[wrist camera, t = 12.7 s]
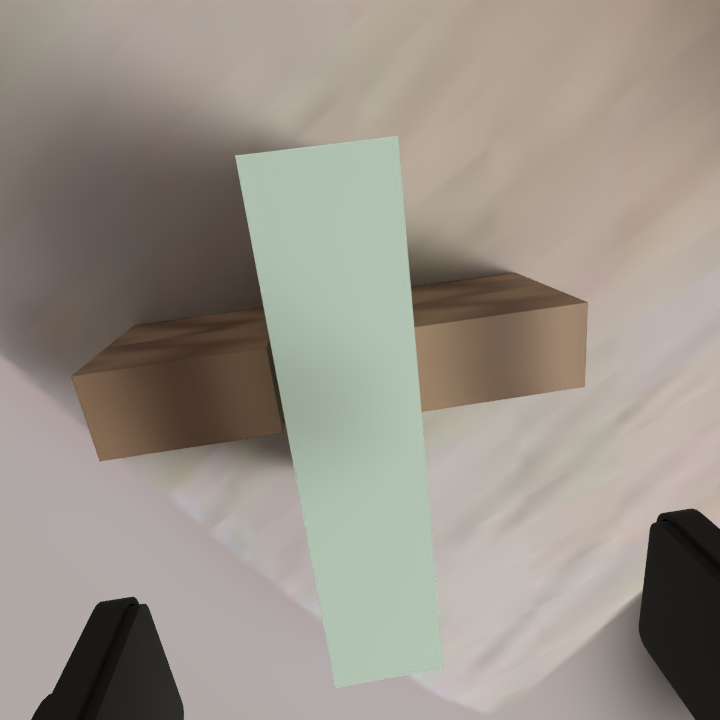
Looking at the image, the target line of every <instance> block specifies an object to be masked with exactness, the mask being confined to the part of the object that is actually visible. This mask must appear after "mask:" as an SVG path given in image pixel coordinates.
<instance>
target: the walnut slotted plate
mask: <svg viewBox="0 0 720 720" xmlns="http://www.w3.org/2000/svg"><path fill="white" fill-rule="evenodd" d="M411 295H412V307H413V318H414V330H415V341H416V353H417V365H418V376H419V388H420V400H421V411H422V412H423V411H430V410H437V409H443V408H450V407H456V406H463V405H469V404H476V403H482V402H489V401H495V400H502V399H508V398H515V397H521V396H528V395H534V394H541V393H547V392H554V391H560V390H567V389H573V388H580V387H585V365H586V338H587V311H588V302H585V301H583V300H581V299H578V298H576V297H573V296H571V295H568V294H566V293H564V292H561V291H559V290H556V289H554V288H551V287H549V286H546V285H544V284H542V283H539V282H537V281H534V280H532V279H529V278H527V277H525V276H522V275H520V274H517V273H510V274H503V275H495V276H488V277H481V278H474V279H466V280H459V281H452V282H445V283H438V284H430V285H423V286H416V287H411ZM71 377H72V380H73V383H74V386H75V389H76V392H77V395H78V398H79V401H80V404H81V407H82V410H83V413H84V416H85V419H86V422H87V425H88V428H89V431H90V434H91V437H92V440H93V443H94V446H95V448H96V451H97V455H98V458H99V461H103V460H111V459H117V458H124V457H130V456H137V455H143V454H150V453H156V452H163V451H169V450H176V449H182V448H189V447H195V446H202V445H208V444H215V443H221V442H228V441H235V440H241V439H248V438H254V437H261V436H267V435H274V434H280V433H283V422H284V412H283V407H282V402H281V397H280V391H279V386H278V381H277V375H276V370H275V365H274V359H273V354H272V349H271V344H270V338H269V333H268V328H267V322H266V317H265V312H264V308H257V309H250V310H243V311H235V312H228V313H221V314H214V315H207V316H199V317H192V318H185V319H178V320H170V321H163V322H156V323H149V324H142V325H134V326H133V327H131V328H130V329H129V330H128V331H127V332H125V333H124V334H123V335H122V336H120V337H119V338H118V339H117V340H116V341H114V342H113V343H112V344H111V345H109V346H108V347H107V348H106V349H104V350H103V351H102V352H101V353H100V354H98V355H97V356H96V357H95V358H93V359H92V360H91V361H90V362H88V363H87V364H86V365H85V366H84V367H82V368H81V369H80V370H79V371H77V372H76V373H75V374H74V375H72V376H71Z"/></svg>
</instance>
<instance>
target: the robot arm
mask: <svg viewBox="0 0 720 720" xmlns="http://www.w3.org/2000/svg"><path fill="white" fill-rule="evenodd" d="M639 633H640V637H641V640H642V642H643V644H644V646H645V648H646V649H647V651H648V653H649V654H650V655H651V657H652V658H653V660H654V661H655V662H656V664H657V665H658V667H659V668H660V670H661V671H662V673H663V674H664V676H665V677H666V678H667V680H668V681H669V682H670V684H671V685H672V687H673V688H674V690H675V691H676V693H677V694H678V696H679V697H680V698H681V700H682V701H683V703H684V704H685V706H686V707H687V708H688V710H689V711H690V712H691V714H692V715H693V717H694V718H695V720H720V529H719V528H718V527H717V526H716V525H714V524H713V523H712V522H711V521H710V520H709V519H708V518H706V517H705V516H704V515H703V514H702V513H700V512H699V511H697V510H695V509H686V510H680V511H673V512H667V513H662V514H660V515H659V516H658V518H657V522H656V523H653V524H652V525H651V528H650V534H649V543H648V551H647V560H646V568H645V577H644V585H643V594H642V603H641V611H640V620H639ZM31 720H184V710H183V704H182V700H181V697H180V695H179V692H178V689H177V686H176V684H175V681H174V678H173V675H172V672H171V670H170V667H169V664H168V661H167V658H166V655H165V653H164V650H163V647H162V644H161V641H160V638H159V636H158V633H157V630H156V627H155V624H154V622H153V619H152V616H151V613H150V610H149V608H148V606H147V605H146V604H140V605H139V603H138V601H137V599H136V598H135V597H128V598H122V599H116V600H110V601H103V602H100V603H98V604H97V605H96V607H95V609H94V610H93V612H92V614H91V616H90V618H89V620H88V622H87V624H86V626H85V628H84V630H83V632H82V634H81V636H80V638H79V640H78V642H77V644H76V646H75V648H74V650H73V652H72V654H71V656H70V658H69V660H68V662H67V664H66V666H65V668H64V670H63V673H62V674H61V677H60V679H59V680H58V683H57V684H56V686H55V688H54V690H53V693H52V694H49V695H48V696H47V697H46V698H45V699H44V700H43V701H42V702H41V704H40V705H39V707H38V709H37V710H36V712H35V714H34V716H33V717H32V719H31Z"/></svg>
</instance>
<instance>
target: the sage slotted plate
mask: <svg viewBox="0 0 720 720" xmlns="http://www.w3.org/2000/svg"><path fill="white" fill-rule="evenodd" d="M235 158H236V163H237V169H238V174H239V179H240V185H241V190H242V195H243V200H244V206H245V211H246V216H247V222H248V227H249V232H250V238H251V243H252V248H253V253H254V259H255V264H256V269H257V275H258V280H259V285H260V291H261V296H262V301H263V306H264V312H265V317H266V322H267V328H268V333H269V338H270V344H271V349H272V354H273V359H274V365H275V370H276V375H277V381H278V386H279V391H280V397H281V402H282V407H283V412H284V418H285V423H286V428H287V434H288V439H289V444H290V450H291V455H292V460H293V465H294V471H295V476H296V481H297V487H298V492H299V497H300V503H301V508H302V513H303V518H304V524H305V529H306V534H307V540H308V545H309V550H310V556H311V561H312V566H313V571H314V577H315V582H316V587H317V593H318V598H319V603H320V609H321V614H322V619H323V624H324V630H325V634H326V640H327V646H328V651H329V656H330V661H331V667H332V672H333V677H334V683H335V687H336V688H338V687H344V686H349V685H354V684H360V683H365V682H371V681H376V680H381V679H387V678H392V677H397V676H403V675H408V674H414V673H419V672H425V671H430V670H435V669H441V668H443V656H442V645H441V633H440V621H439V610H438V598H437V586H436V575H435V563H434V551H433V540H432V528H431V516H430V505H429V493H428V481H427V470H426V458H425V446H424V435H423V423H422V411H421V400H420V388H419V376H418V365H417V353H416V341H415V330H414V318H413V307H412V295H411V283H410V272H409V260H408V248H407V237H406V225H405V213H404V202H403V190H402V178H401V167H400V155H399V143H398V136H392V137H383V138H375V139H367V140H359V141H351V142H342V143H334V144H326V145H318V146H310V147H301V148H293V149H285V150H277V151H269V152H261V153H252V154H244V155H236V156H235Z"/></svg>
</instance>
